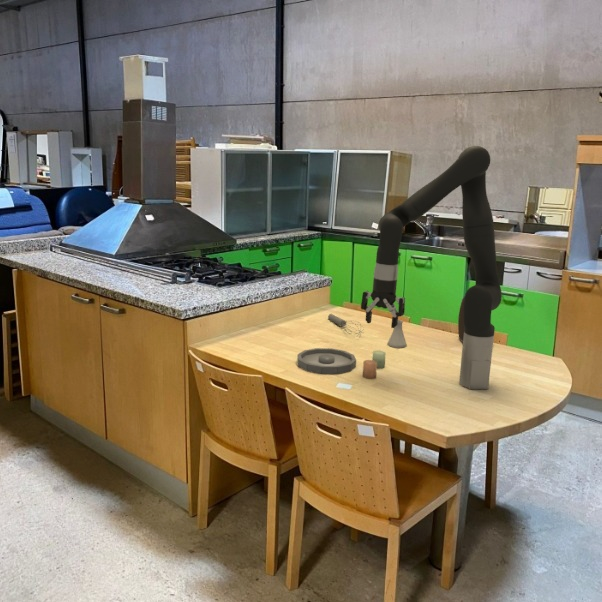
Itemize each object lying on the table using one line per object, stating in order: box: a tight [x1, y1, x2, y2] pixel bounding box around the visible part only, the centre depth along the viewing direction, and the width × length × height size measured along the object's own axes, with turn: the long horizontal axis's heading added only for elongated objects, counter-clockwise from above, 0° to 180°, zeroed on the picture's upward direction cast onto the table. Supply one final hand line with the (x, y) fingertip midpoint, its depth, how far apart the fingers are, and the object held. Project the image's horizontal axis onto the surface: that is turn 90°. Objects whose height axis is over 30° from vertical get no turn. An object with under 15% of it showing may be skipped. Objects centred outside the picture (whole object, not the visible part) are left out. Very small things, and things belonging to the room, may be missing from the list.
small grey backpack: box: [457, 295, 465, 343], centre depth 240 cm, size 15×8×20 cm, turn 5°
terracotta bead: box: [362, 359, 378, 380], centre depth 201 cm, size 4×4×5 cm
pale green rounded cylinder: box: [371, 350, 387, 369], centre depth 211 cm, size 4×4×5 cm
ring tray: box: [296, 347, 357, 375], centre depth 212 cm, size 20×20×2 cm
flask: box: [387, 319, 408, 349], centre depth 235 cm, size 7×7×10 cm
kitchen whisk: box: [327, 313, 365, 338], centre depth 257 cm, size 6×34×6 cm, turn 19°
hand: (380, 325), depth 199 cm, fingers open, 8 cm apart
